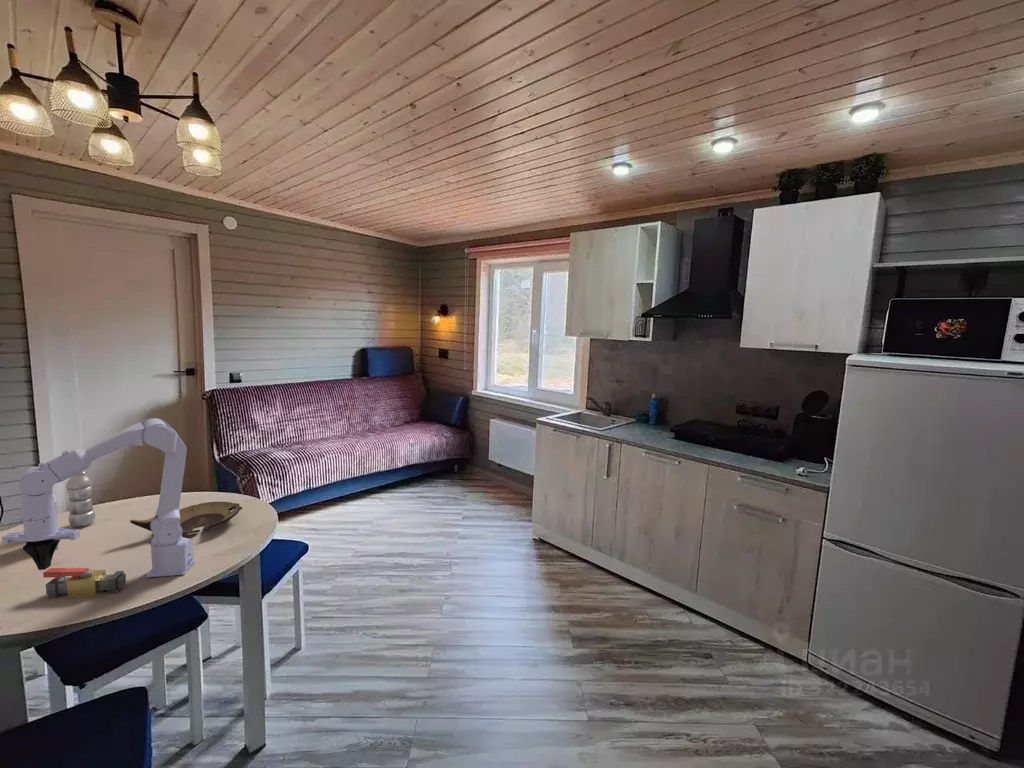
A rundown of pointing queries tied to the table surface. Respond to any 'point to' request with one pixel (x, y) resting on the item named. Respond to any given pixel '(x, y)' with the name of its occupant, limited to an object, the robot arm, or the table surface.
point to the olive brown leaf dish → (200, 516)
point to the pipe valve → (86, 584)
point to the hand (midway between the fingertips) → (44, 567)
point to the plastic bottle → (80, 500)
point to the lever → (67, 572)
